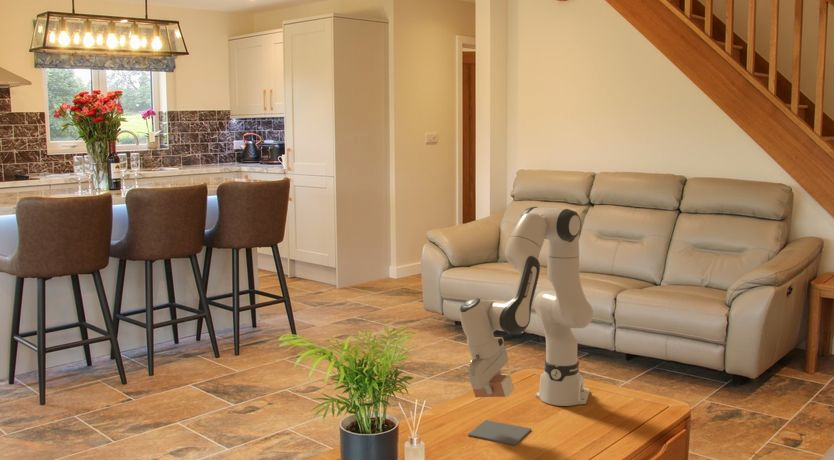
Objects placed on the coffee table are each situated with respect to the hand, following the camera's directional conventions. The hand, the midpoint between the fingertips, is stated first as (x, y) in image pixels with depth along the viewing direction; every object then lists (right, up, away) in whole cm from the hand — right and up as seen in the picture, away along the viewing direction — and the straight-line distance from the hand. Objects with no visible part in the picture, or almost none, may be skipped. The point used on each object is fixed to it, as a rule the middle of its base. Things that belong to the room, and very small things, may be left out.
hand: (495, 388), depth 254 cm
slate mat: (+2, -14, 0) cm, 14 cm away
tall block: (-6, 0, +4) cm, 7 cm away
